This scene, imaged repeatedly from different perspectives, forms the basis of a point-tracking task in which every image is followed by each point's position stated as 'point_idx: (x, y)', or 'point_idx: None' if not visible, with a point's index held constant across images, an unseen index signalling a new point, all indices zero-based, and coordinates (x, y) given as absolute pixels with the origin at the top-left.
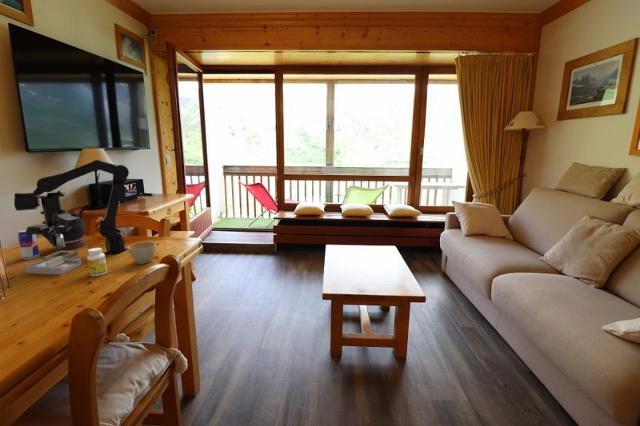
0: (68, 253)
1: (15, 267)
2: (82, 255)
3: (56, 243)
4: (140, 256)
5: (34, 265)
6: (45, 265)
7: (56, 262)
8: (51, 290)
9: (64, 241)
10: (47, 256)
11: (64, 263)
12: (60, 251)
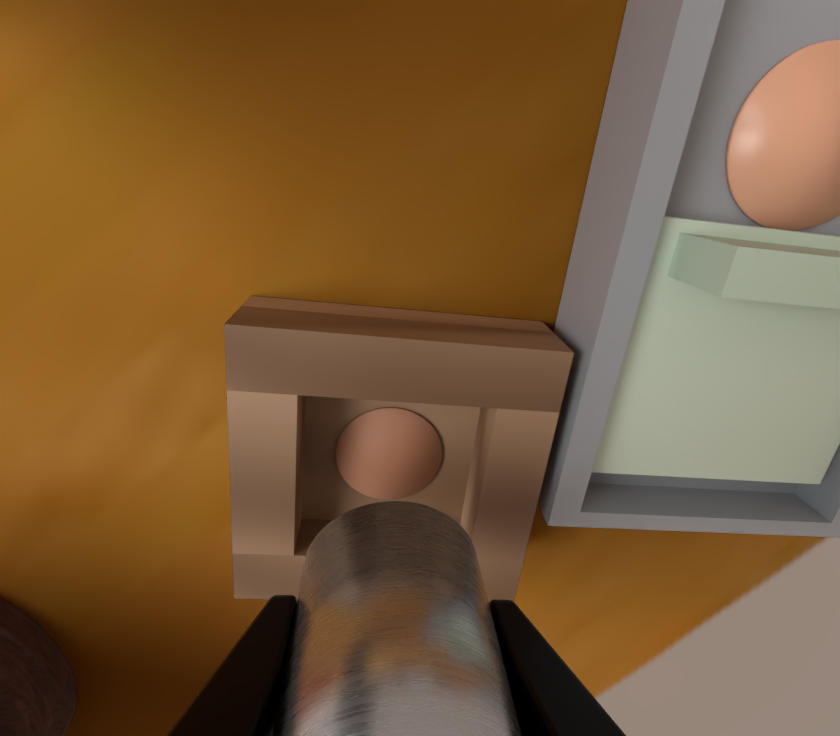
0: (352, 397)
1: (594, 675)
2: (183, 284)
3: (498, 649)
4: None
5: (743, 503)
6: (814, 360)
7: (807, 249)
8: None
9: (280, 627)
10: (488, 573)
11: (671, 206)
12: (274, 571)
